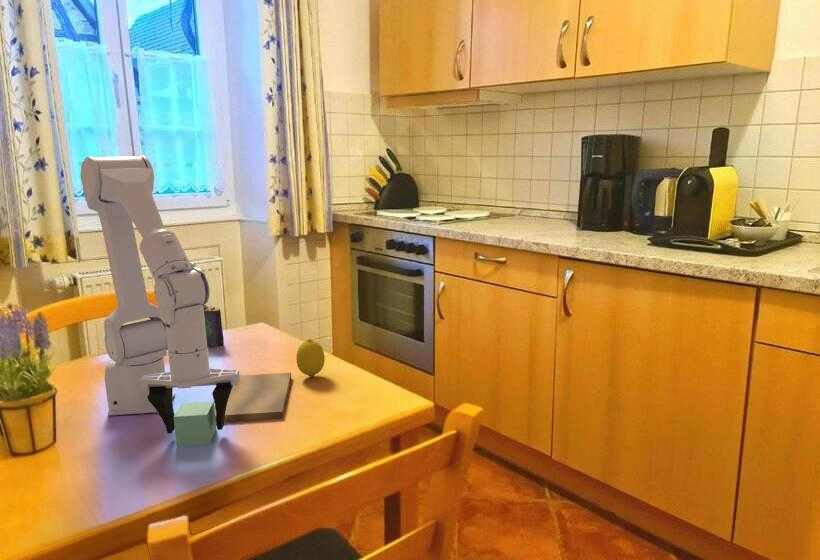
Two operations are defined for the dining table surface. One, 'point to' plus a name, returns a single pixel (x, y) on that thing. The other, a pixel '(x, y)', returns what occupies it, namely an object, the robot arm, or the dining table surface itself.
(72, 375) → the dining table surface
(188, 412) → the block
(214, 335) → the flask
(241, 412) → the board
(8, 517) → the dining table surface
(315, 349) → the lemon
